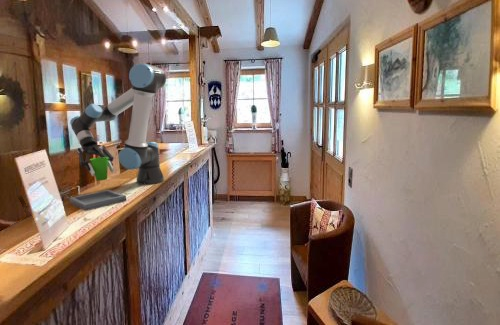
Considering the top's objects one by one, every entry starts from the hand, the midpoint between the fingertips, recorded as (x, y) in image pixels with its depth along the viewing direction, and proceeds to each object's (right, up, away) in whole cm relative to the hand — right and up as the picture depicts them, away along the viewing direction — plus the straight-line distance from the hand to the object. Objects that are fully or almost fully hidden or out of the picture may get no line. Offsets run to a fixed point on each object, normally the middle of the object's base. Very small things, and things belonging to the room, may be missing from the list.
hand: (103, 172), depth 163 cm
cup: (-2, -4, +3) cm, 5 cm away
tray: (+5, -13, -16) cm, 21 cm away
